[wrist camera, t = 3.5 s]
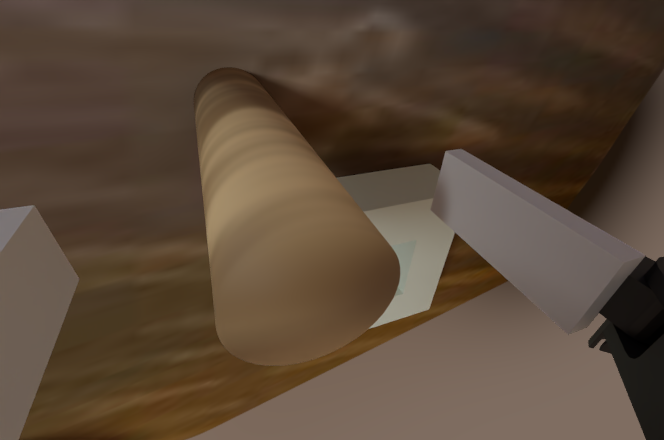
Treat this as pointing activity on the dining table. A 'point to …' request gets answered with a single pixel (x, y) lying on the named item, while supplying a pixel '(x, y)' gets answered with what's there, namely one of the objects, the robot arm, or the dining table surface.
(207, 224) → the oak peg
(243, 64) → the dining table surface
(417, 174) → the socket block
